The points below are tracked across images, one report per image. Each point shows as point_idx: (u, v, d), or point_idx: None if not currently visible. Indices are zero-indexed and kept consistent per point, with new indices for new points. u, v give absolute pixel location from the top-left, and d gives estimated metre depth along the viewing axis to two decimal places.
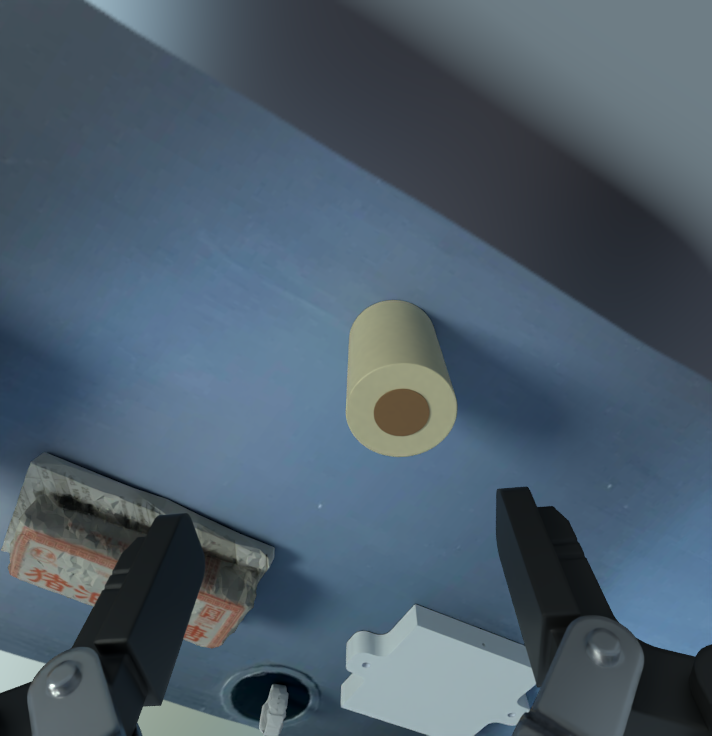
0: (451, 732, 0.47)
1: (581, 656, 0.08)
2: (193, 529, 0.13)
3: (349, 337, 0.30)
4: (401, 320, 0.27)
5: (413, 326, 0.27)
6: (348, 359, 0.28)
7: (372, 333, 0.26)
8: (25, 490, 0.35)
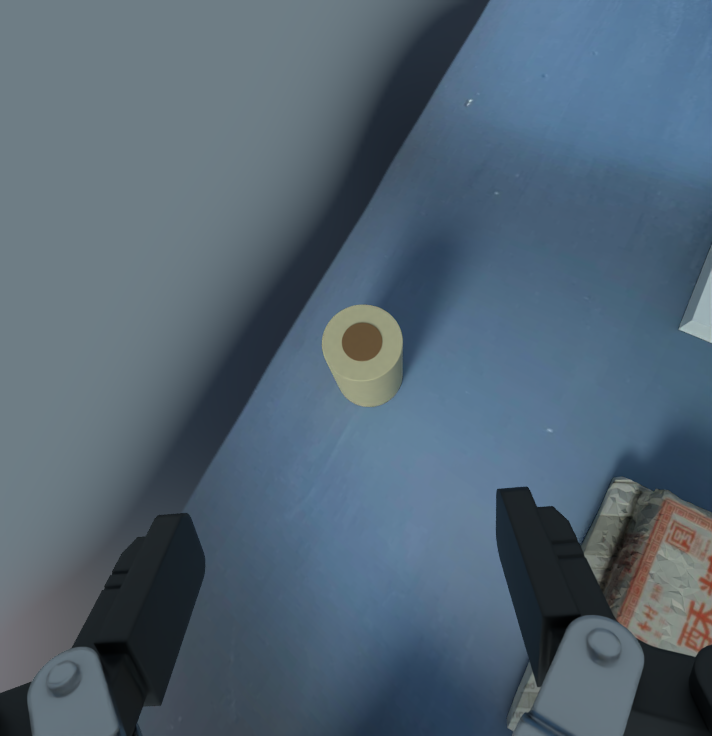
0: None
1: (581, 656, 0.08)
2: (193, 529, 0.13)
3: (365, 405, 0.39)
4: None
5: None
6: (361, 397, 0.37)
7: (335, 378, 0.36)
8: None
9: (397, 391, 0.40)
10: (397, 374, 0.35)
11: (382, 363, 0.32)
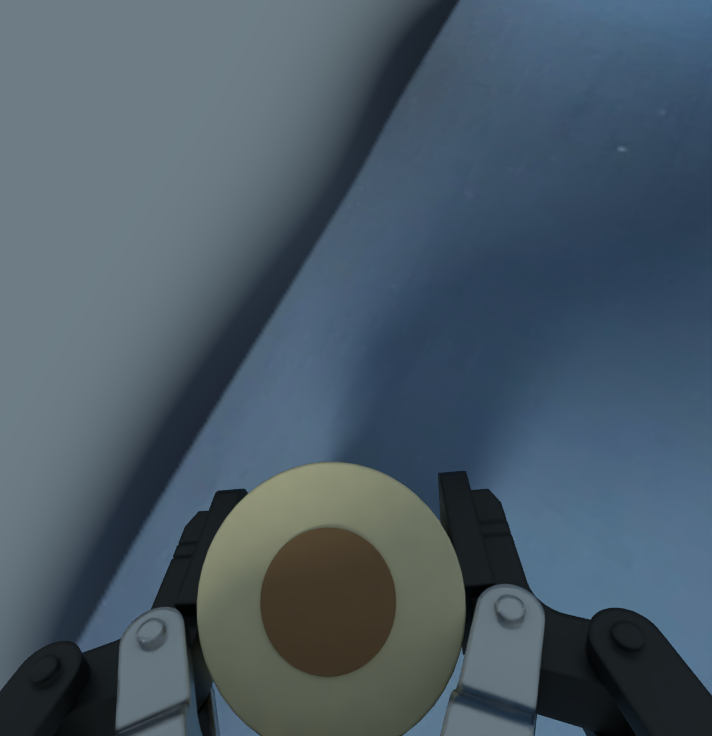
0: None
1: (493, 624, 0.09)
2: None
3: None
4: None
5: None
6: None
7: None
8: None
9: None
10: None
11: (398, 687, 0.09)
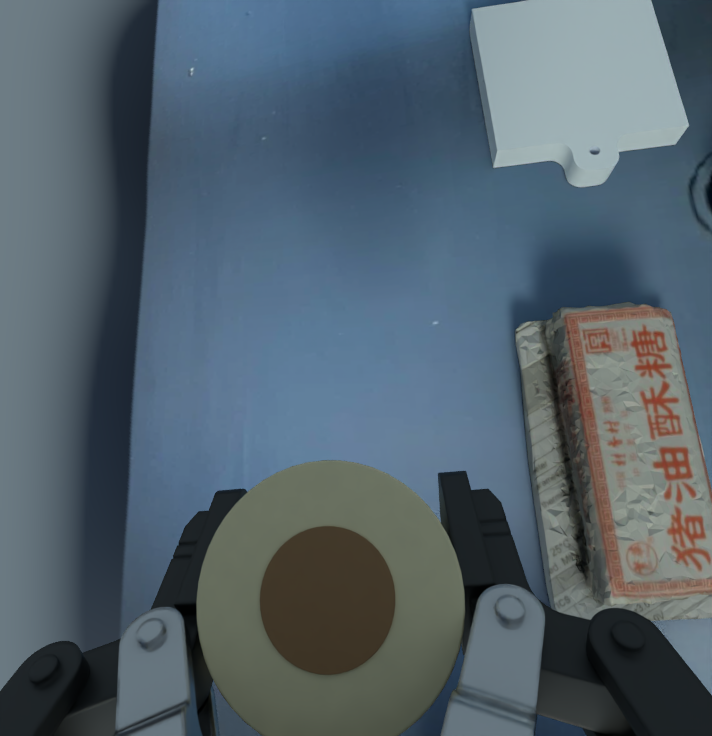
0: (632, 6, 0.38)
1: (493, 624, 0.09)
2: None
3: None
4: None
5: None
6: None
7: None
8: None
9: None
10: None
11: (398, 685, 0.09)
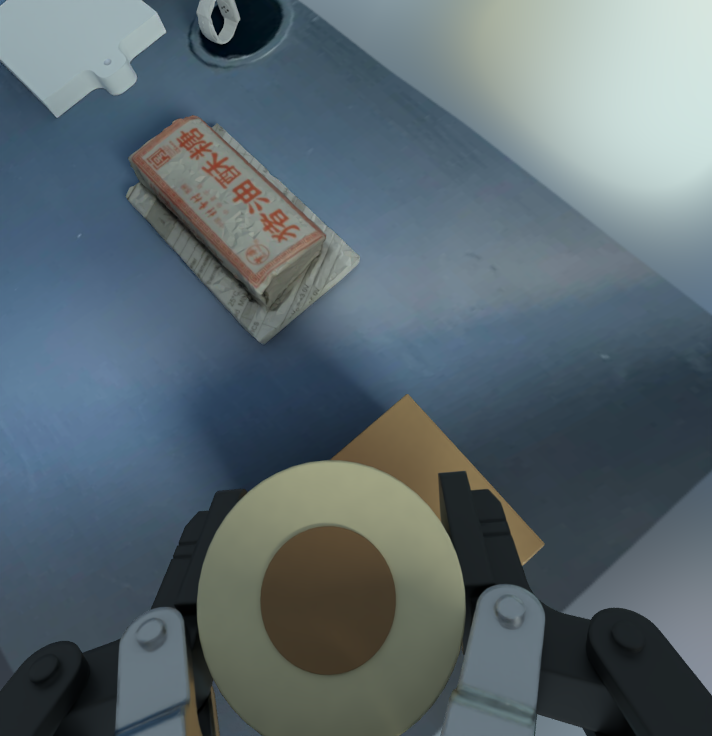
0: None
1: (493, 624, 0.09)
2: None
3: None
4: None
5: None
6: None
7: None
8: (286, 314, 0.37)
9: None
10: None
11: (398, 685, 0.09)
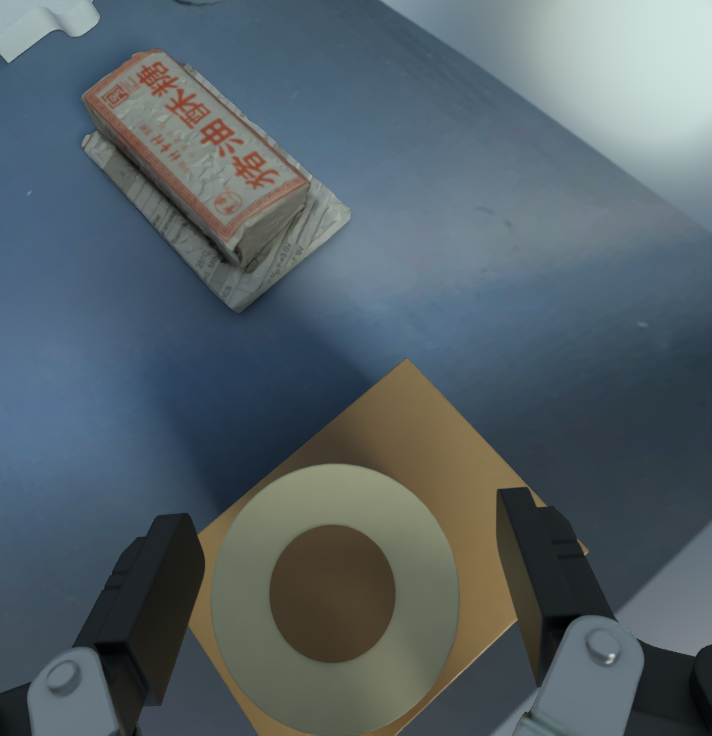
0: None
1: (581, 656, 0.08)
2: (193, 529, 0.13)
3: None
4: None
5: None
6: None
7: None
8: (263, 277, 0.31)
9: None
10: None
11: (397, 672, 0.10)
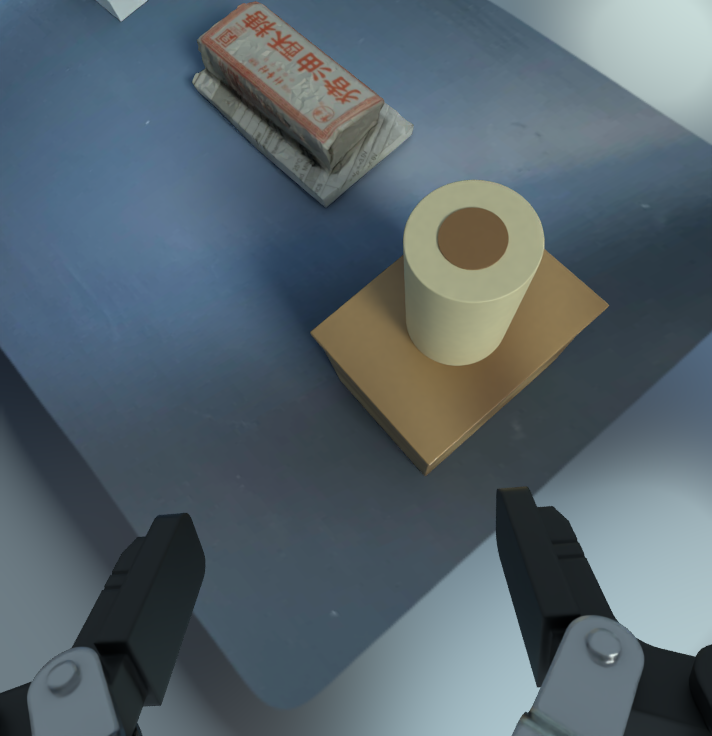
0: None
1: (581, 656, 0.08)
2: (193, 529, 0.13)
3: (453, 363, 0.26)
4: None
5: None
6: (458, 344, 0.23)
7: (414, 316, 0.23)
8: (347, 176, 0.40)
9: None
10: (520, 302, 0.22)
11: (512, 271, 0.19)
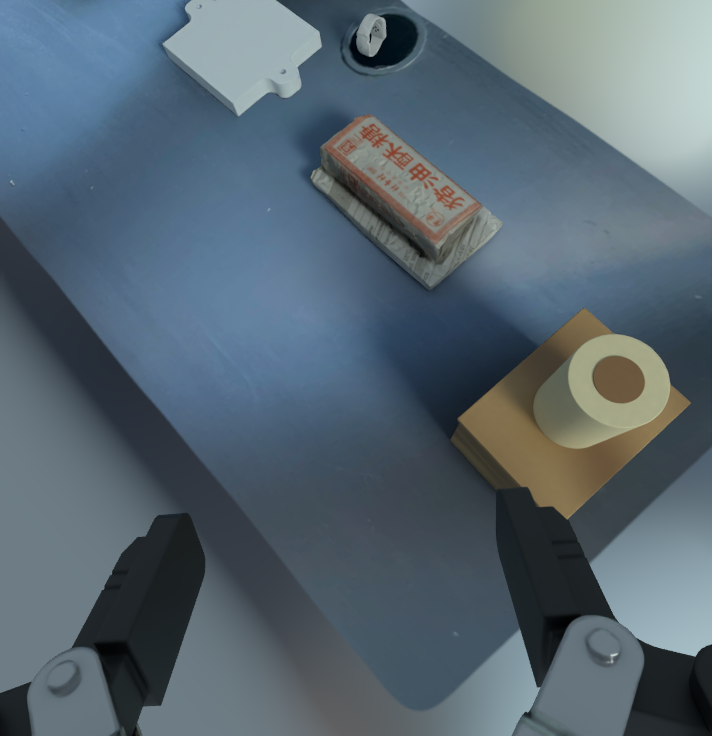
0: None
1: (581, 656, 0.08)
2: (193, 529, 0.13)
3: (574, 447, 0.34)
4: (544, 399, 0.32)
5: (547, 387, 0.32)
6: (589, 441, 0.31)
7: (557, 420, 0.31)
8: (449, 266, 0.48)
9: None
10: None
11: (648, 405, 0.27)
